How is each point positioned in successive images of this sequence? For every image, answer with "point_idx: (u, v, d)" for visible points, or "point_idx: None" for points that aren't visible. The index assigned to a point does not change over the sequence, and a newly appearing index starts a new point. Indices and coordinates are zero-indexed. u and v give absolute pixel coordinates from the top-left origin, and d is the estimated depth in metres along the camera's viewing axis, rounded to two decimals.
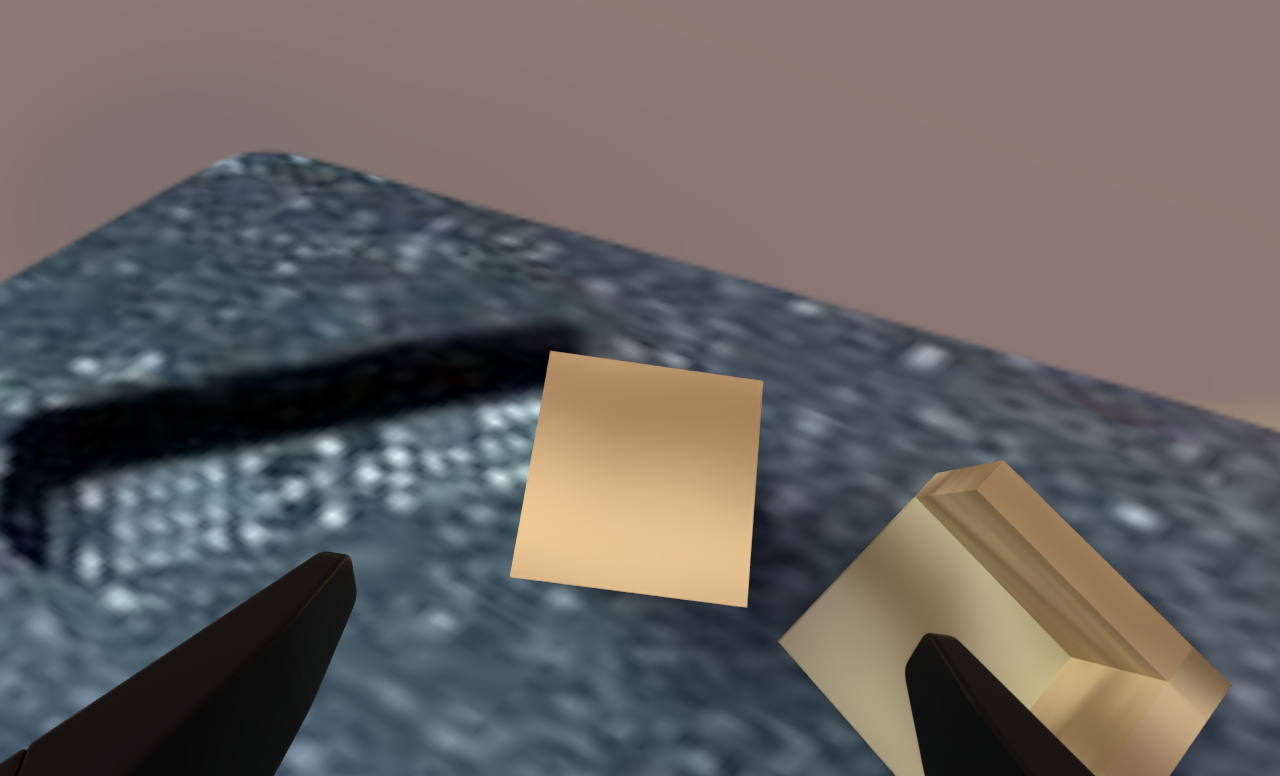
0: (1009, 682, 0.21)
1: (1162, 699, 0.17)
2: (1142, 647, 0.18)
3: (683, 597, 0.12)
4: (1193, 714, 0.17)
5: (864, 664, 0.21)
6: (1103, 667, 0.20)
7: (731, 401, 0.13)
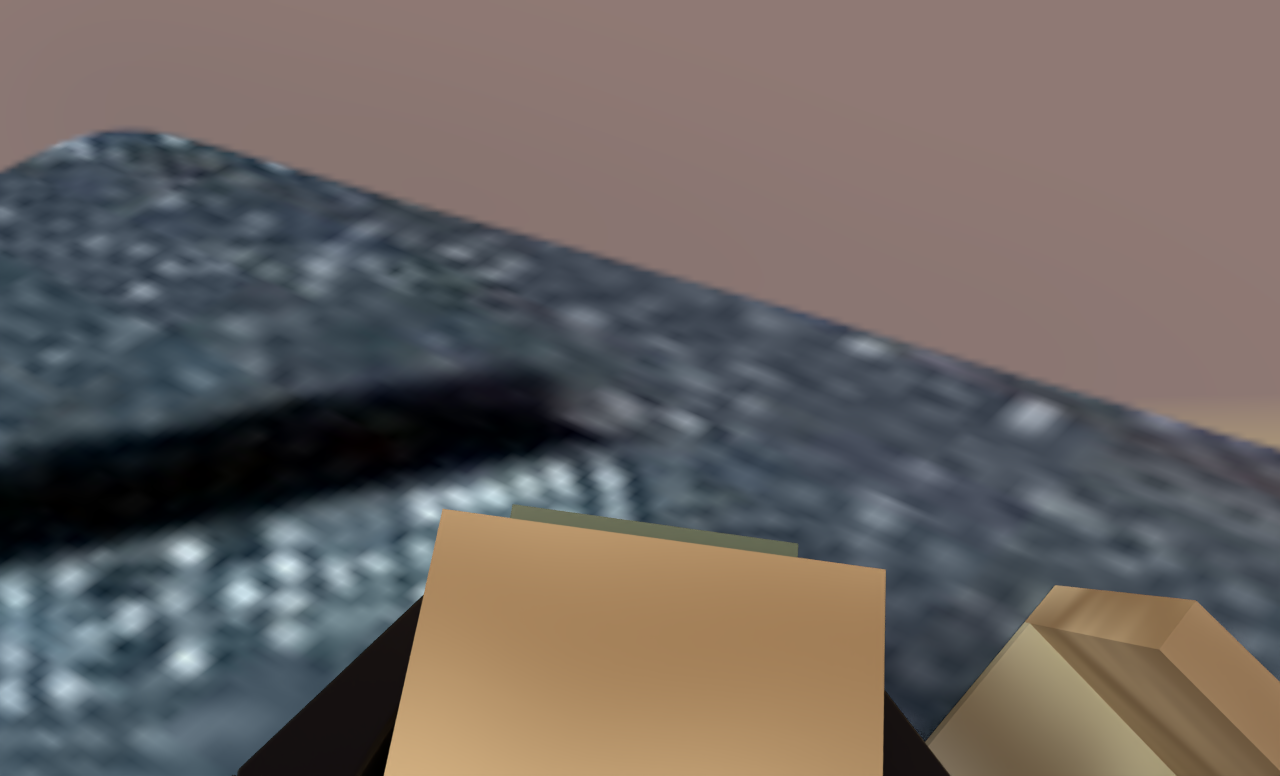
0: None
1: None
2: None
3: None
4: None
5: None
6: None
7: (821, 618, 0.06)
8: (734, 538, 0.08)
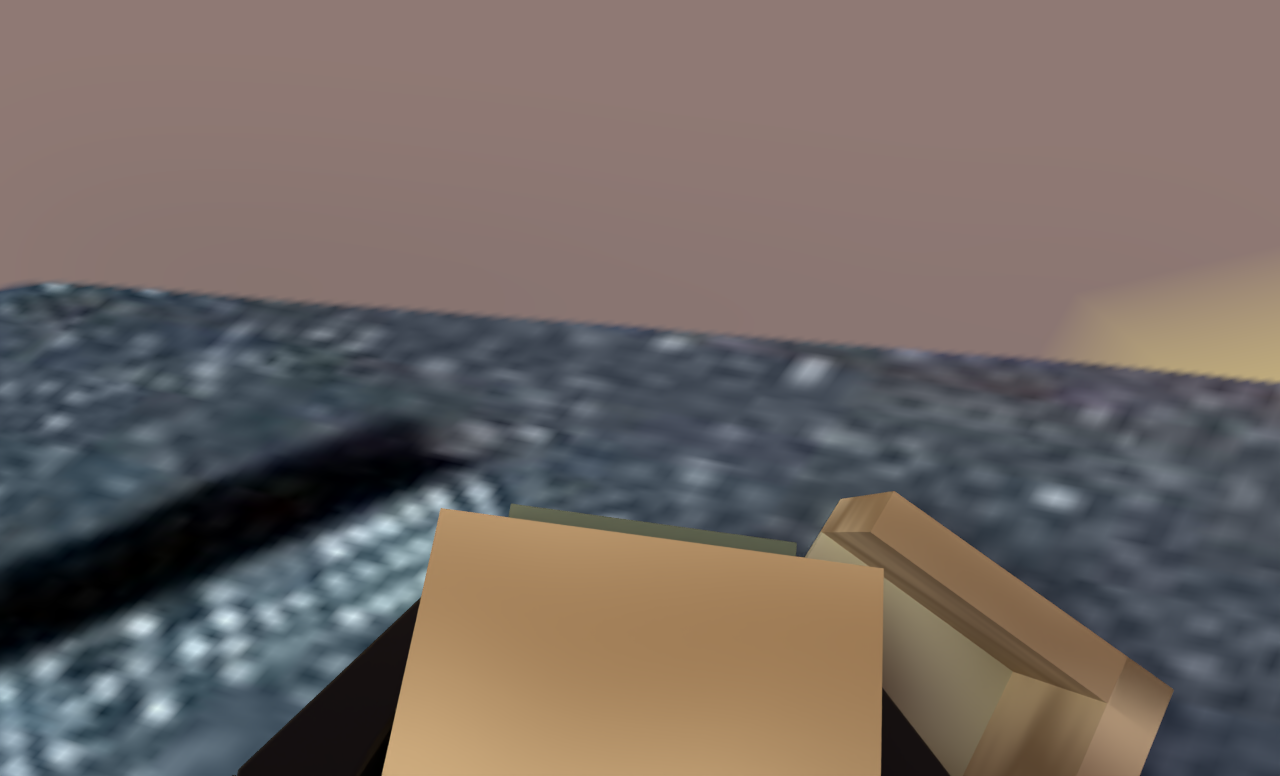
0: (954, 714, 0.19)
1: (1104, 725, 0.16)
2: (1074, 670, 0.16)
3: None
4: (1139, 733, 0.16)
5: None
6: (1044, 683, 0.18)
7: (819, 616, 0.06)
8: (732, 537, 0.08)
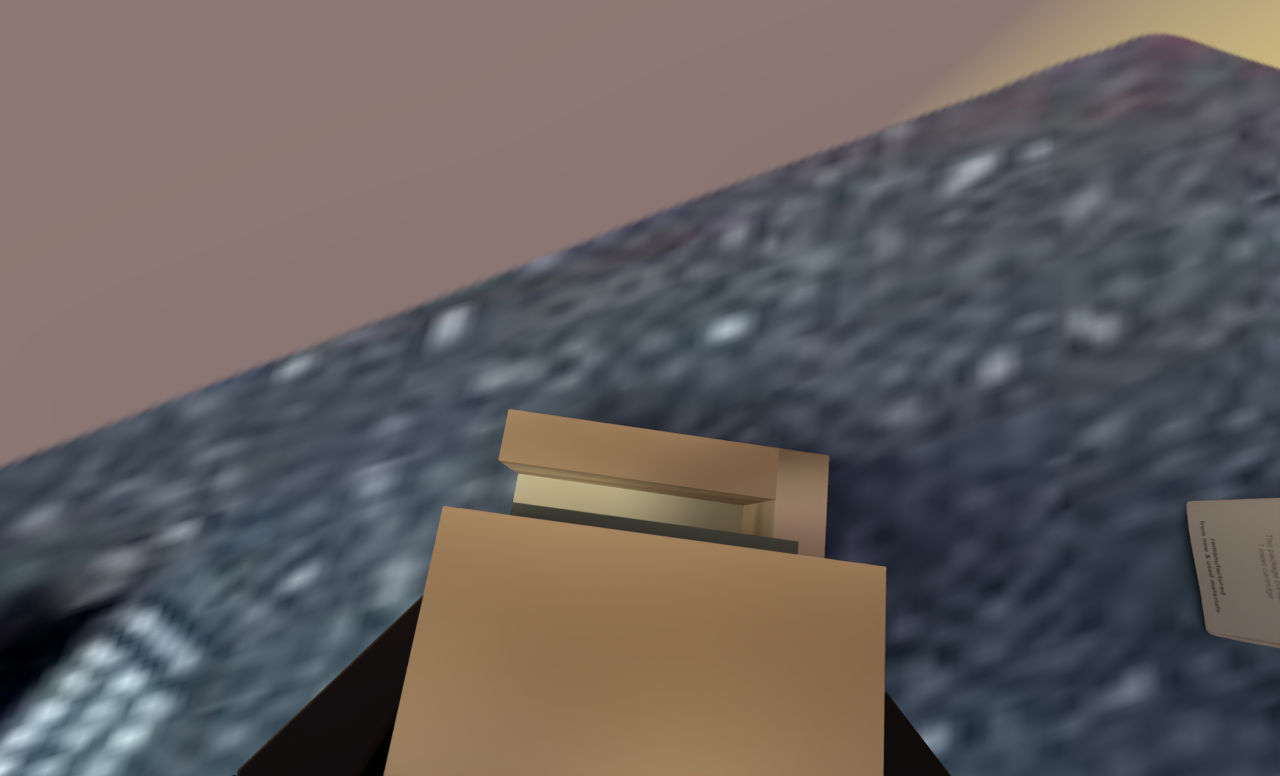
0: None
1: (779, 520, 0.16)
2: (736, 486, 0.16)
3: None
4: (812, 511, 0.16)
5: None
6: (756, 504, 0.18)
7: (822, 616, 0.06)
8: (734, 536, 0.08)
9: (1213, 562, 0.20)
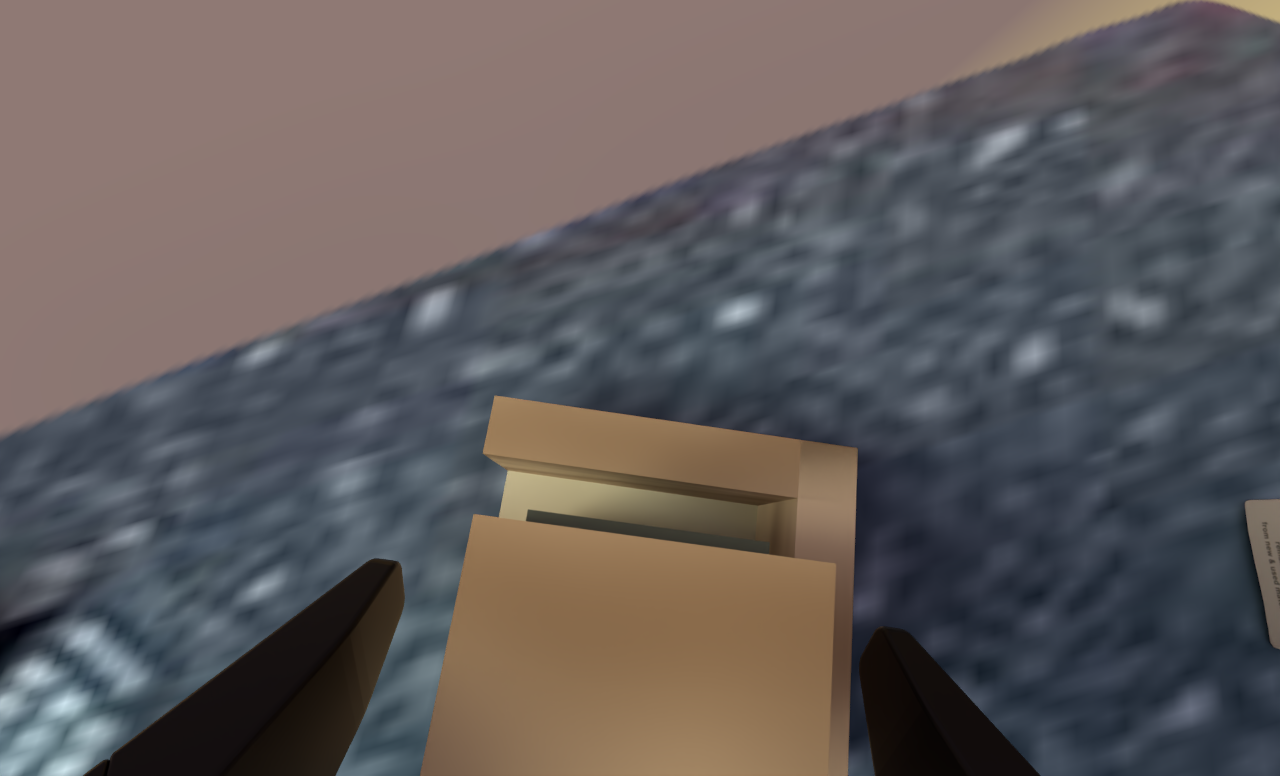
0: None
1: (802, 521, 0.14)
2: (753, 483, 0.14)
3: None
4: (839, 511, 0.14)
5: None
6: (773, 503, 0.16)
7: (782, 603, 0.07)
8: (715, 537, 0.09)
9: (1278, 568, 0.18)
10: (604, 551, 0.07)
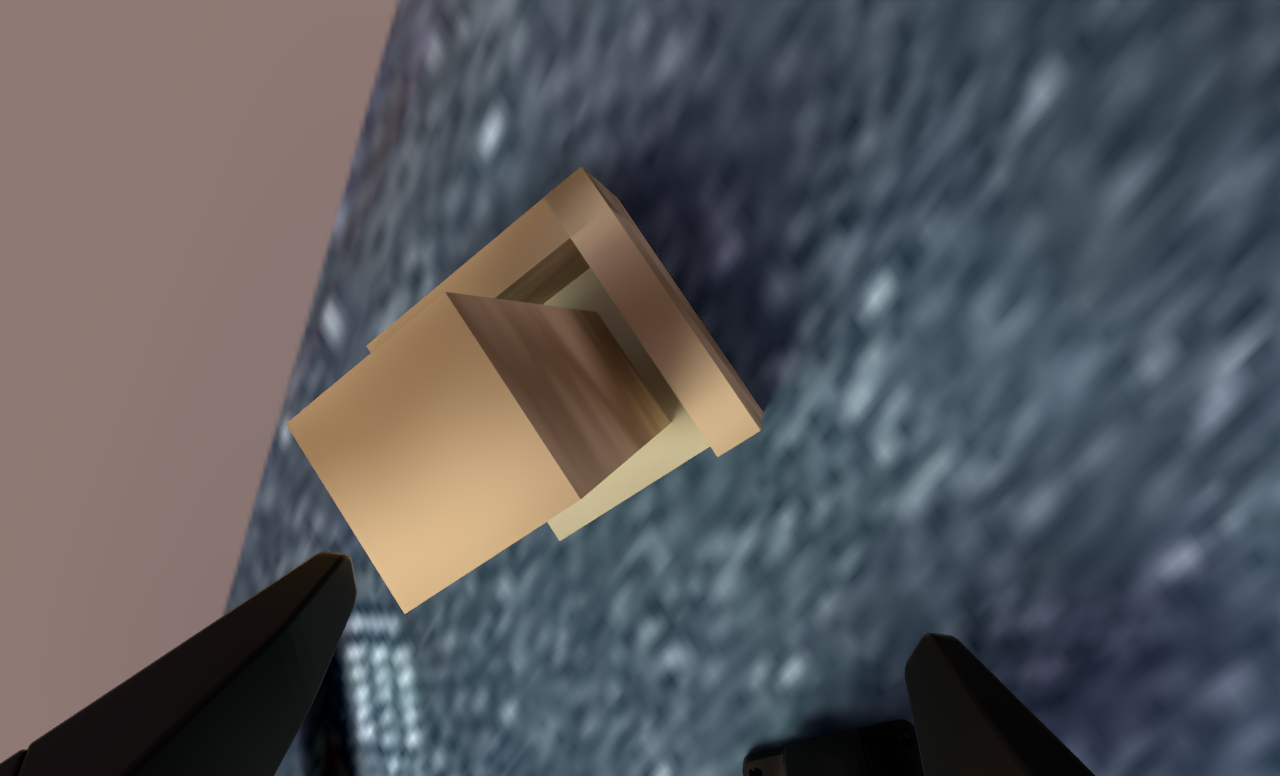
0: (623, 323, 0.21)
1: (584, 249, 0.17)
2: (538, 254, 0.17)
3: (529, 530, 0.11)
4: (601, 219, 0.17)
5: None
6: None
7: (435, 336, 0.11)
8: None
9: None
10: (346, 388, 0.12)
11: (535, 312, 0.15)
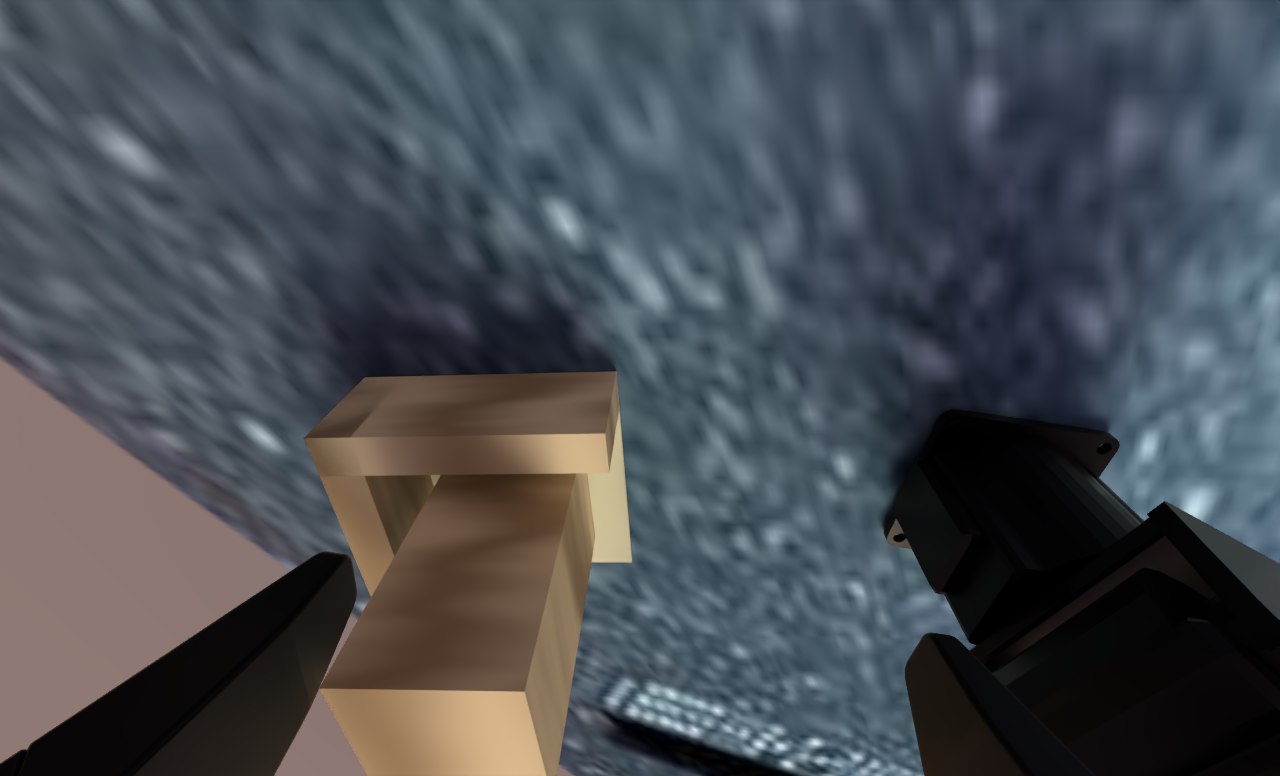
0: None
1: (379, 471, 0.18)
2: (368, 502, 0.19)
3: (532, 723, 0.14)
4: (359, 448, 0.17)
5: None
6: None
7: (352, 706, 0.14)
8: None
9: None
10: (368, 760, 0.15)
11: (401, 561, 0.17)
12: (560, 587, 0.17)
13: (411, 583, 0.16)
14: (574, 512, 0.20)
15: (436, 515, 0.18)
